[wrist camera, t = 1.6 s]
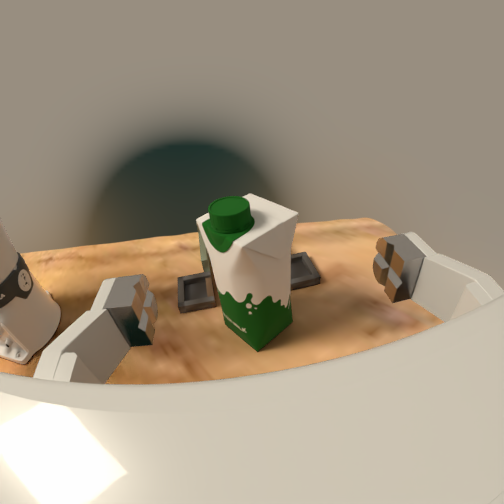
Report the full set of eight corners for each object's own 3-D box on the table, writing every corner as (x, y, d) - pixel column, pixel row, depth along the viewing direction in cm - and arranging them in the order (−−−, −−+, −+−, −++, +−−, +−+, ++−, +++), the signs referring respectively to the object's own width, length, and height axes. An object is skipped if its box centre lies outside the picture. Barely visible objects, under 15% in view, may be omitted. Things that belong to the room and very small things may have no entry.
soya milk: (216, 324, 39) (184, 202, 27) (260, 292, 44) (249, 173, 32) (257, 360, 34) (239, 232, 22) (302, 321, 39) (308, 193, 26)
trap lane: (180, 313, 42) (170, 286, 38) (179, 250, 55) (172, 226, 51) (319, 283, 44) (322, 255, 41) (288, 229, 58) (287, 204, 54)
